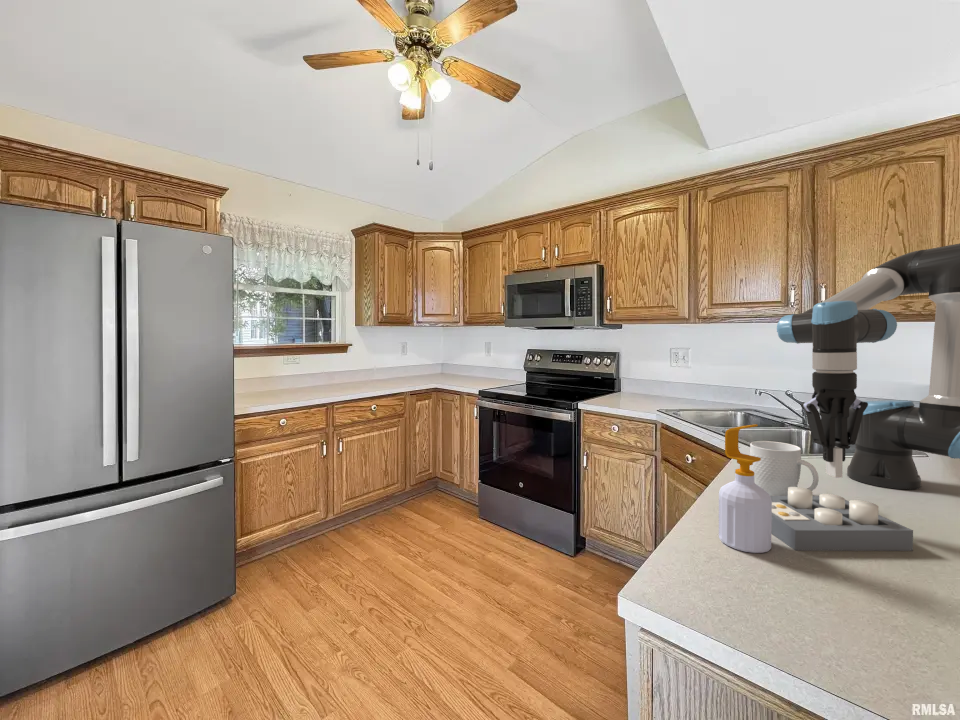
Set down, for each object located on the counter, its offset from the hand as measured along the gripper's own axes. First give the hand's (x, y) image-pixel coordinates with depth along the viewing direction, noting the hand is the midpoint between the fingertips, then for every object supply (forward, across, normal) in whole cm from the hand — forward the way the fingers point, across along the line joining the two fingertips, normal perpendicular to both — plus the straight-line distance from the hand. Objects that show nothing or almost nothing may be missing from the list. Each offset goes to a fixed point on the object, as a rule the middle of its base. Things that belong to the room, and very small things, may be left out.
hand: (834, 475), depth 93 cm
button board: (+10, +7, +4) cm, 13 cm away
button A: (+9, +1, 0) cm, 9 cm away
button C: (+8, +8, 0) cm, 11 cm away
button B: (+8, +1, +8) cm, 11 cm away
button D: (+9, +8, +8) cm, 15 cm away
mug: (+11, +2, -16) cm, 19 cm away
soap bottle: (+10, +26, +10) cm, 29 cm away
